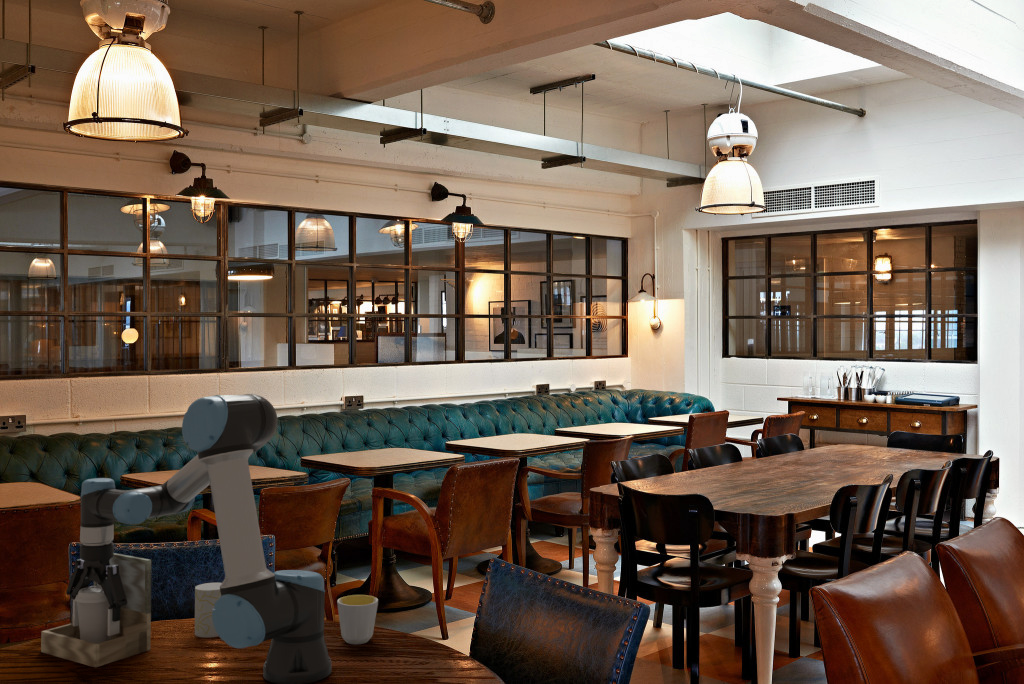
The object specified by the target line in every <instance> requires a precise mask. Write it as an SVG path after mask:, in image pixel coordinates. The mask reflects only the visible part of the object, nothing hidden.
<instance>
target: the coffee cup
mask: <svg viewBox="0 0 1024 684" xmlns="http://www.w3.org/2000/svg"><path fill="white" fill-rule="evenodd" d="M75 601H76V602H77V606H78V617H79V629H80V640H84V641H88V642H91V643H95V644H98V643H102V642H105V641H108V640H111V639H112V635H111V636H108V608H109V607H110V605H109V602H108V600H107V598H106V596H105V594H104V592H103V589H102V587H101V585H98V586H94V585H91V586H90V585H89V586H88V587H85V588H82V589H80V590H79V592H78V594H77V595H76V598H75ZM114 603H115V602H114Z"/></svg>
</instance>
